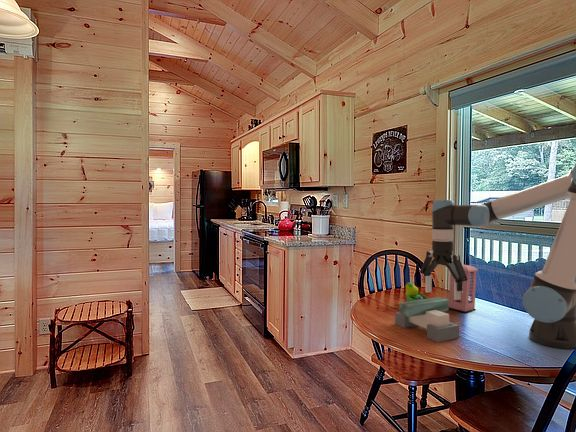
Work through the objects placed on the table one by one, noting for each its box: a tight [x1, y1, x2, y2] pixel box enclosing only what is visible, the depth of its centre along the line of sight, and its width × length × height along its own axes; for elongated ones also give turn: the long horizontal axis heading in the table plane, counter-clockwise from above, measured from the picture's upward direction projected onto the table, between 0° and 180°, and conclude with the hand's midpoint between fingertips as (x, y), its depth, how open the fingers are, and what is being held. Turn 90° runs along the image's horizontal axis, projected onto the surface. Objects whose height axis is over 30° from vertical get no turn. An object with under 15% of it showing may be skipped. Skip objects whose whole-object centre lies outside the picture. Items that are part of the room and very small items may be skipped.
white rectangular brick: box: [408, 310, 450, 330], centre depth 146 cm, size 18×5×6 cm, turn 26°
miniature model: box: [448, 263, 479, 314], centre depth 174 cm, size 9×9×20 cm
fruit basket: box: [405, 281, 429, 302], centre depth 178 cm, size 11×9×11 cm
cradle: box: [394, 311, 460, 343], centre depth 146 cm, size 22×10×4 cm, turn 26°
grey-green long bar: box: [398, 297, 449, 317], centre depth 146 cm, size 4×20×4 cm, turn 116°
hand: (442, 295), depth 150 cm, fingers open, 13 cm apart
